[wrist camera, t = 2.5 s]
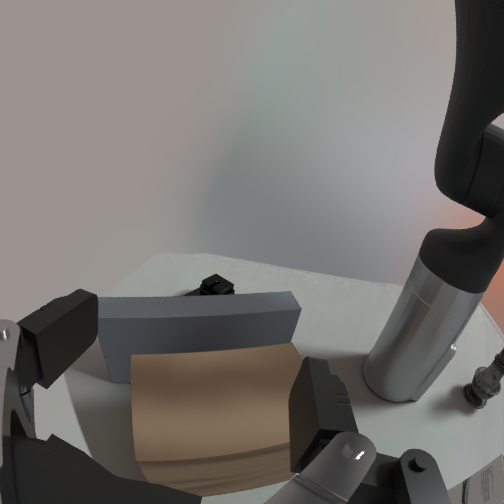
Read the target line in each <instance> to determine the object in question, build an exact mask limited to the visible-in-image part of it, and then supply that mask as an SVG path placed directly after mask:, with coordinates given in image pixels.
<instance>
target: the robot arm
mask: <svg viewBox="0 0 504 504" xmlns="http://www.w3.org/2000/svg"><path fill="white" fill-rule="evenodd" d="M455 10H456V35H457V41H456V43H457V44H456V64H455V72H454V79H453V85H452V91H451V95H450V100H449V104H448V109H447V113H446V117H445V121H444V125H443V128H442V132H441V136H440V140H439V144H438V148H437V153H436V158H435V168H434V169H435V170H434V171H435V180H436V185H437V187H438V188H439V190H440V191H441V192H442V193H443V194H444V195H445V196H447V197H448V198H450V199H451V200H453V201H455V202H457V203H459V204H462V205H463V206H466V207H468V208H470V209H472V210H474V211H476V212H478V213H480V214H482V215H484V216H486V218H485V219H484V221H483V222H482V223H481V224H480V225H478V226H476V227H472V228H468V229H433V230H431V231H429V232H428V233H427V235H426V236H425V238H424V240H423V243H422V245H421V248H420V251H419V253H418V256H417V258H416V261H415V263H414V265H413V268H412V270H411V273H410V275H409V277H408V279H407V282H406V284H405V286H404V288H403V290H402V292H401V295H400V297H399V299H398V301H397V303H396V305H395V307H394V309H393V311H392V313H391V315H390V317H389V319H388V321H387V323H386V325H385V327H384V329H383V330H382V332H381V334H380V336H379V338H378V340H377V341H376V343H375V345H374V347H373V349H372V350H371V351H370V353H369V355H368V357H367V359H366V361H365V363H364V365H363V375H364V378H365V381H366V382H367V384H368V386H369V387H370V388H371V389H372V390H373V391H374V392H375V393H376V394H377V395H379V396H380V397H382V398H384V399H386V400H389V401H394V402H404V401H408V400H414V401H418V400H419V399H420V398H421V396H422V395H423V394H424V393H425V392H426V391H427V389H428V388H429V387H430V386H431V385H432V383H433V382H434V381H435V380H436V378H437V377H438V376H439V374H440V373H441V372H442V371H443V369H444V368H445V367H446V365H447V364H448V363H449V361H450V360H451V359H452V357H453V356H454V354H455V352H456V344H455V342H456V341H457V339H458V338H459V336H460V334H461V333H462V331H463V330H464V328H465V326H466V325H467V323H468V322H469V320H470V318H471V317H472V315H473V313H474V311H475V310H476V308H477V306H478V304H479V302H480V300H481V299H482V297H483V295H484V293H485V291H486V290H487V288H488V286H489V284H490V282H491V280H492V278H493V276H494V275H495V273H496V272H497V270H498V269H499V267H500V265H501V263H502V261H503V259H504V130H503V129H501V128H499V127H497V126H495V125H493V124H491V122H492V121H493V120H494V119H496V118H497V117H498V116H499V115H501V114H502V113H504V0H455ZM97 334H98V297H97V295H95V294H93V293H90V292H88V291H85V290H83V289H78V290H76V291H74V292H73V293H71V294H69V295H68V296H64V297H60V298H56V299H54V300H52V301H51V302H49V303H47V305H44V306H43V307H41V308H40V310H39V309H38V310H36V311H35V312H33V313H31V314H30V315H28V316H27V317H25V318H24V319H22V320H21V321H19V322H18V323H15V322H13V321H10V320H4V319H3V320H0V504H201V500H202V496H199V495H195V494H192V493H188V492H184V491H181V490H177V489H174V488H171V487H167V486H164V485H161V484H154V483H147V482H141V481H135V480H130V479H124V478H120V477H117V476H115V475H113V474H112V473H110V472H109V471H108V470H106V469H105V468H104V467H102V466H101V465H100V464H98V463H97V462H96V461H94V460H93V459H92V458H91V457H89V456H88V455H87V454H86V453H85V452H83V451H81V450H79V449H78V448H76V447H74V446H72V445H71V444H69V443H67V442H65V441H64V440H62V439H60V438H59V437H57V436H55V435H53V434H52V435H51V436H50V437H49V438H48V440H47V441H44V440H40V439H37V438H36V433H35V422H34V390H33V387H32V386H33V385H34V384H35V383H38V384H39V385H41V386H42V387H44V388H45V389H48V388H49V387H50V385H52V384H53V382H54V381H55V380H57V379H58V378H59V376H61V375H62V374H63V373H64V372H65V370H66V369H67V368H69V367H70V366H71V365H72V364H73V363H74V362H75V361H76V360H77V359H78V358H79V357H80V356H81V355H82V354H83V353H84V352H85V351H86V350H87V349H88V348H89V347H90V346H91V345H92V344H93V343H94V341H95V339H96V337H97ZM347 395H348V394H347V391H346V388H345V385H344V384H343V382H342V381H341V380H340V379H339V378H338V376H336V375H330V371H329V367H328V363H327V361H326V360H322V359H317V358H311V357H305V359H304V360H303V363H302V365H301V367H300V370H299V372H298V374H297V377H296V379H295V381H294V384H293V386H292V388H291V391H290V395H289V400H288V410H289V438H290V472H291V473H300V474H299V475H298V476H297V475H296V476H295V477H293V478H292V479H291V480H290V481H289V482H288V483H287V484H286V485H285V486H283V487H282V488H281V489H280V490H279V491H278V492H277V493H276V494H274V495H273V496H272V497H271V498H270V499H269V500H267V501H266V502H265V503H264V504H451V501H450V498H449V495H448V492H447V490H446V487H445V484H444V481H443V479H442V476H441V473H440V471H439V468H438V465H437V463H436V461H435V459H434V458H433V457H432V456H431V455H430V454H429V453H427V452H425V451H423V450H420V449H410V450H407V451H406V452H404V453H403V455H402V456H401V457H400V458H396V457H392V456H388V455H384V454H380V453H377V452H376V448H375V446H374V444H373V443H372V442H371V440H369V439H368V438H367V437H365V436H364V435H362V434H359V432H358V429H357V425H356V422H355V418H354V415H353V411H352V408H351V405H350V401H349V398H348V397H347Z"/></svg>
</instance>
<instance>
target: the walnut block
mask: <svg viewBox="0 0 504 504" xmlns="http://www.w3.org/2000/svg"><path fill="white" fill-rule="evenodd" d="M302 363H303V362H302V360H301V358H300V356H299V354H298V352H297V350H296V349H295V347H294V345H293V343H285V344H278V345H270V346H262V347H253V348H243V349H233V350H222V351H209V352H194V353H174V354H138V355H131V405H132V426H133V440H134V452H135V461H136V463H137V464H138V466H139V468H140V469H141V471H142V473H143V474H144V476H145V477H146V479H147V480H148V482H149V483H154V484H161V485H164V486H167V487H171V488H174V489H177V490H181V491H184V492H188V493H192V494H195V495H199V496H202V497H205V496H213V495H221V494H227V493H233V492H239V491H244V490H249V489H254V488H259V487H263V486H268V485H272V484H276V483H280V482H283V481H287V480H290V479H291V478H292V477H293V476H294V475H295V474H296V473H291V472H290V438H289V410H288V400H289V395H290V391H291V388H292V386H293V384H294V381H295V379H296V377H297V374H298V372H299V370H300V367H301V365H302Z"/></svg>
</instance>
